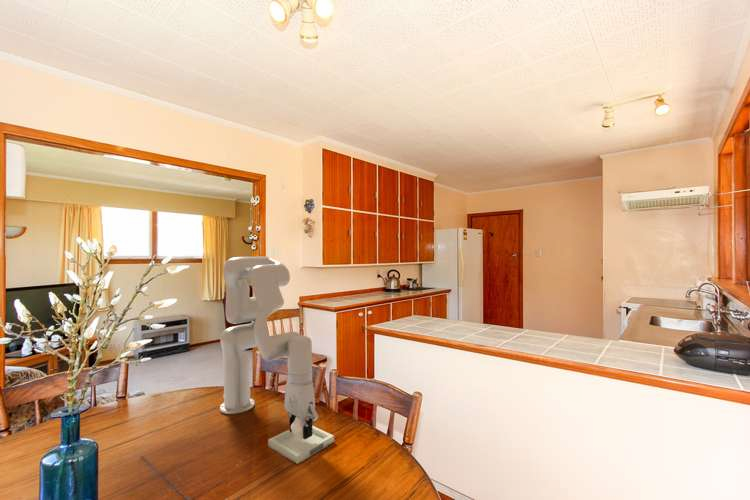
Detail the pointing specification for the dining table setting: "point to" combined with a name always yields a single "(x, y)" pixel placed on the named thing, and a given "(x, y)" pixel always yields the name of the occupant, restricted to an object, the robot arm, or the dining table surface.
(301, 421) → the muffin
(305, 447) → the tray
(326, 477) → the dining table surface
